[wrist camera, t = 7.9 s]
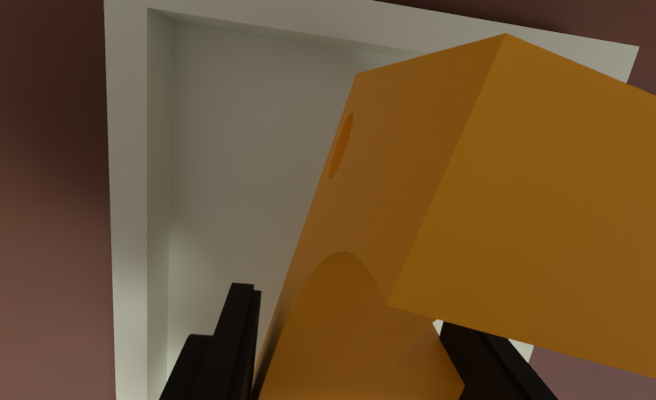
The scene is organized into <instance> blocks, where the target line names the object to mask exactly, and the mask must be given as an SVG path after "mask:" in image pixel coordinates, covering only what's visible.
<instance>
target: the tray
mask: <svg viewBox="0 0 656 400" xmlns="http://www.w3.org/2000/svg"><path fill="white" fill-rule="evenodd" d="M104 21H105V53H106V85H107V118H108V150H109V183H110V215H111V247H112V280H113V312H114V344H115V377H116V400H159V398H160V396H161V394H162V391H163V389H164V387H165V385H166V383H167V381H168V378H169V376H170V374H171V372H172V370H173V367H174V365H175V363H176V361H177V359H178V357H179V354H180V352H181V350H182V348H183V346H184V343H185V341H186V339H187V337H188V336H189V335H190V334H201V335H213V334H214V331H215V328H216V326H217V323H218V320H219V317H220V314H221V312H222V309H223V306H224V303H225V300H226V298H227V295H228V292H229V289H230V286H231V284H232V282H234V283H246V284H254V290H260V291H262V293H261V304H260V314H259V324H258V334H257V344H256V355H255V365H256V362H257V359H258V356H259V353H260V350H261V347H262V344H263V342H264V339H265V336H266V333H267V330H268V327H269V324H270V321H271V318H272V316H273V313H274V310H275V307H276V304H277V301H278V298H279V295H280V292H281V290H282V287H283V284H284V281H285V278H286V275H287V272H288V269H289V266H290V263H291V261H292V258H293V255H294V252H295V249H296V246H297V243H298V240H299V237H300V235H301V232H302V229H303V226H304V223H305V220H306V217H307V214H308V211H309V209H310V206H311V203H312V200H313V197H314V194H315V191H316V188H317V185H318V182H319V180H320V177H321V174H322V171H323V168H324V165H325V162H326V159H327V156H328V154H329V151H330V148H331V145H332V142H333V139H334V136H335V133H336V130H337V128H338V125H339V122H340V119H341V116H342V113H343V110H344V107H345V104H346V101H347V99H348V96H349V93H350V90H351V87H352V84H353V81H354V78H355V75H356V74H357V73H360V72H364V71H368V70H371V69H375V68H379V67H382V66H386V65H390V64H393V63H397V62H401V61H405V60H408V59H412V58H416V57H419V56H423V55H427V54H430V53H434V52H438V51H441V50H445V49H449V48H452V47H456V46H460V45H463V44H467V43H471V42H475V41H478V40H482V39H486V38H489V37H493V36H497V35H500V34H504V33H508V34H510V35H513V36H515V37H517V38H520V39H522V40H525V41H527V42H529V43H532V44H534V45H536V46H539V47H541V48H544V49H546V50H548V51H551V52H553V53H555V54H558V55H560V56H563V57H565V58H567V59H570V60H572V61H575V62H577V63H579V64H582V65H584V66H586V67H589V68H591V69H594V70H596V71H598V72H601V73H603V74H605V75H608V76H610V77H613V78H615V79H617V80H620V81H622V82H625V83H627V81H628V78H629V75H630V72H631V69H632V67H633V64H634V61H635V58H636V55H637V52H638V49H639V47H638V46H632V45H627V44H621V43H615V42H609V41H604V40H598V39H592V38H586V37H581V36H575V35H569V34H563V33H558V32H552V31H546V30H540V29H534V28H529V27H523V26H517V25H511V24H506V23H500V22H494V21H488V20H483V19H477V18H471V17H465V16H460V15H454V14H448V13H442V12H436V11H431V10H425V9H419V8H413V7H408V6H402V5H396V4H390V3H385V2H379V1H373V0H104ZM442 324H443V321H442V320H438V319H437V320H436V321H434V322H433V325H434V327H435V329H436V331H437V332H438V334H439V336H440V332H441V328H442ZM508 340H509V341H510V342H511V343H512V344H513V346H514V347H515V348H516V349H517V350H518V352H519V353H520V354H521V355H522V356H523V358H524V359H525V360H526V361H527V363H528V362H529V359H530V356H531V353H532V350H533V348H534V345H530V344H526V343H523V342H519V341H515V340H512V339H508ZM255 365H254V368H255Z"/></svg>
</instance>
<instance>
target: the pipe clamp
mask: <svg viewBox="0 0 656 400" xmlns="http://www.w3.org/2000/svg"><path fill="white" fill-rule="evenodd" d="M437 319H438V320H442V321H445V322H449V323H453V324H456V325H460V326H464V327H467V328H471V329H475V330H479V331H482V332H486V333H490V334H493V335H497V336H501V337H504V338H508V339H512V340H515V341H519V342H523V343H526V344H530V345H534V346H538V347H541V348H545V349H549V350H552V351H556V352H560V353H563V354H567V355H571V356H574V357H578V358H582V359H585V360H589V361H593V362H596V363H600V364H604V365H608V366H611V367H615V368H619V369H622V370H626V371H630V372H633V373H637V374H641V375H644V376H648V377H652V378H655V379H656V96H655V95H653V94H651V93H648V92H646V91H644V90H641V89H639V88H636V87H634V86H632V85H629V84H627V83H625V82H622V81H620V80H617V79H615V78H613V77H610V76H608V75H605V74H603V73H601V72H598V71H596V70H594V69H591V68H589V67H586V66H584V65H582V64H579V63H577V62H575V61H572V60H570V59H567V58H565V57H563V56H560V55H558V54H555V53H553V52H551V51H548V50H546V49H544V48H541V47H539V46H536V45H534V44H532V43H529V42H527V41H525V40H522V39H520V38H517V37H515V36H513V35H510V34H508V33H504V34H500V35H497V36H493V37H489V38H486V39H482V40H478V41H475V42H471V43H467V44H463V45H460V46H456V47H452V48H449V49H445V50H441V51H438V52H434V53H430V54H427V55H423V56H419V57H416V58H412V59H408V60H405V61H401V62H397V63H393V64H390V65H386V66H382V67H379V68H375V69H371V70H368V71H364V72H360V73H357V74H356V75H355V78H354V81H353V84H352V87H351V90H350V93H349V96H348V99H347V101H346V104H345V107H344V110H343V113H342V116H341V119H340V122H339V125H338V128H337V130H336V133H335V136H334V139H333V142H332V145H331V148H330V151H329V154H328V156H327V159H326V162H325V165H324V168H323V171H322V174H321V177H320V180H319V182H318V185H317V188H316V191H315V194H314V197H313V200H312V203H311V206H310V209H309V211H308V214H307V217H306V220H305V223H304V226H303V229H302V232H301V235H300V237H299V240H298V243H297V246H296V249H295V252H294V255H293V258H292V261H291V263H290V266H289V269H288V272H287V275H286V278H285V281H284V284H283V287H282V290H281V292H280V295H279V298H278V301H277V304H276V307H275V310H274V313H273V316H272V318H271V321H270V324H269V327H268V330H267V333H266V336H265V339H264V342H263V344H262V347H261V350H260V353H259V356H258V359H257V362H256V365H255V368H254V375H253V384H252V391H251V397H250V400H458V399H459V398H460V396H461V394H462V392H463V389H464V386H465V385H464V383H463V381H462V379H461V377H460V376H459V374H458V372H457V370H456V368H455V366H454V365H453V363H452V361H451V359H450V357H449V355H448V354H447V352H446V350H445V348H444V346H443V344H442V343H441V341H440V339H439V334H438V332H437V331H436V329H435V327H434V325H433V322H434V321H436V320H437Z"/></svg>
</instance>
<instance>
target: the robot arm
mask: <svg viewBox="0 0 656 400" xmlns="http://www.w3.org/2000/svg"><path fill="white" fill-rule="evenodd" d="M261 293H262V291H260V290H254V284H246V283H234V282H232V284H231V286H230V289H229V292H228V295H227V298H226V300H225V303H224V306H223V309H222V312H221V314H220V317H219V320H218V323H217V326H216V328H215V331H214V334H213V335H201V334H190V335H189V336H188V337H187V339H186V341H185V343H184V346H183V348H182V350H181V352H180V354H179V357H178V359H177V361H176V363H175V365H174V367H173V370H172V372H171V374H170V376H169V378H168V381H167V383H166V385H165V387H164V389H163V391H162V394H161V396H160V398H159V400H250V397H251V391H252V384H253V375H254V365H255V355H256V344H257V334H258V324H259V314H260V304H261ZM439 339H440V341H441V343H442V344H443V346H444V348H445V350H446V352H447V354H448V355H449V357H450V359H451V361H452V363H453V365H454V366H455V368H456V370H457V372H458V374H459V376H460V377H461V379H462V381H463V383H464V385H465V386H464V389H463V392H462V394H461V396H460V398H459V399H458V400H558V399H557V397H556V396H555V395H554V394H553V393H552V391H551V390H550V389H549V388H548V387H547V385H546V384H545V383H544V382H543V381H542V379H541V378H540V377H539V376H538V375H537V373H536V372H535V371H534V370H533V369H532V367H531V366H530V365H529V364H528V363H527V361H526V360H525V359H524V358H523V356H522V355H521V354H520V353H519V352H518V350H517V349H516V348H515V347H514V346H513V344H512V343H511V342H510V341H509V340H508V338H504V337H501V336H497V335H493V334H490V333H486V332H482V331H479V330H475V329H471V328H467V327H464V326H460V325H456V324H453V323H449V322H445V321H443V324H442V328H441V332H440V336H439Z"/></svg>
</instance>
